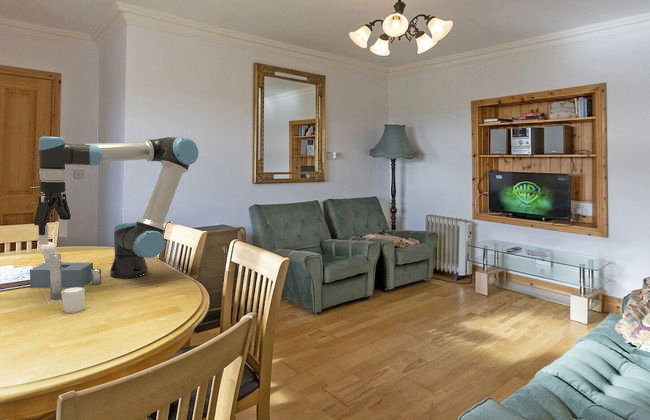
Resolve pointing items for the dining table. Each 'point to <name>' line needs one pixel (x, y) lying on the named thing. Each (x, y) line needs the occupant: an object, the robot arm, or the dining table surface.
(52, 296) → the tall pin
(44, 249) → the lightbulb
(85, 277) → the hole block
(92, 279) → the short pin
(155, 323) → the dining table surface
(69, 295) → the shot glass
